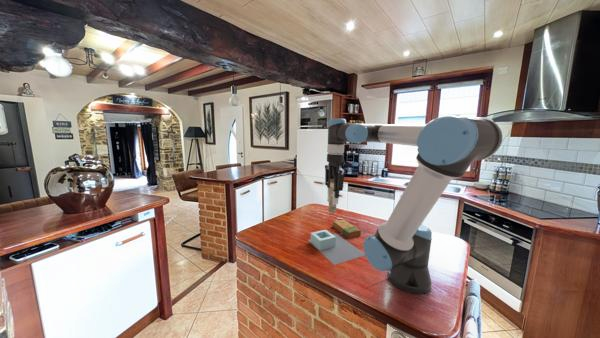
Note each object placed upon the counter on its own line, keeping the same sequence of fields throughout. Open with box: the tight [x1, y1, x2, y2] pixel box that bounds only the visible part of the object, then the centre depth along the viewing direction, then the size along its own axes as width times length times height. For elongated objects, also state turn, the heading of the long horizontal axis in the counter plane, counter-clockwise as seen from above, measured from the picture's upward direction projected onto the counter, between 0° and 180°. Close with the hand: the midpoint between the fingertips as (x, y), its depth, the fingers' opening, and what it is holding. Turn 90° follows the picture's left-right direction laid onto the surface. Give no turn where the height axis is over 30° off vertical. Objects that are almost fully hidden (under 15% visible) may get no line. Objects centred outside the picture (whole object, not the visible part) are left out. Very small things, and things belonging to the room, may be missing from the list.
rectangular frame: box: [310, 229, 336, 251], centre depth 111 cm, size 9×9×5 cm
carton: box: [332, 219, 362, 239], centre depth 126 cm, size 8×16×4 cm, turn 25°
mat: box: [307, 232, 366, 266], centre depth 109 cm, size 24×18×1 cm
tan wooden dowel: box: [328, 178, 337, 214], centre depth 104 cm, size 4×4×16 cm
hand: (332, 202), depth 105 cm, fingers closed on tan wooden dowel, 3 cm apart
